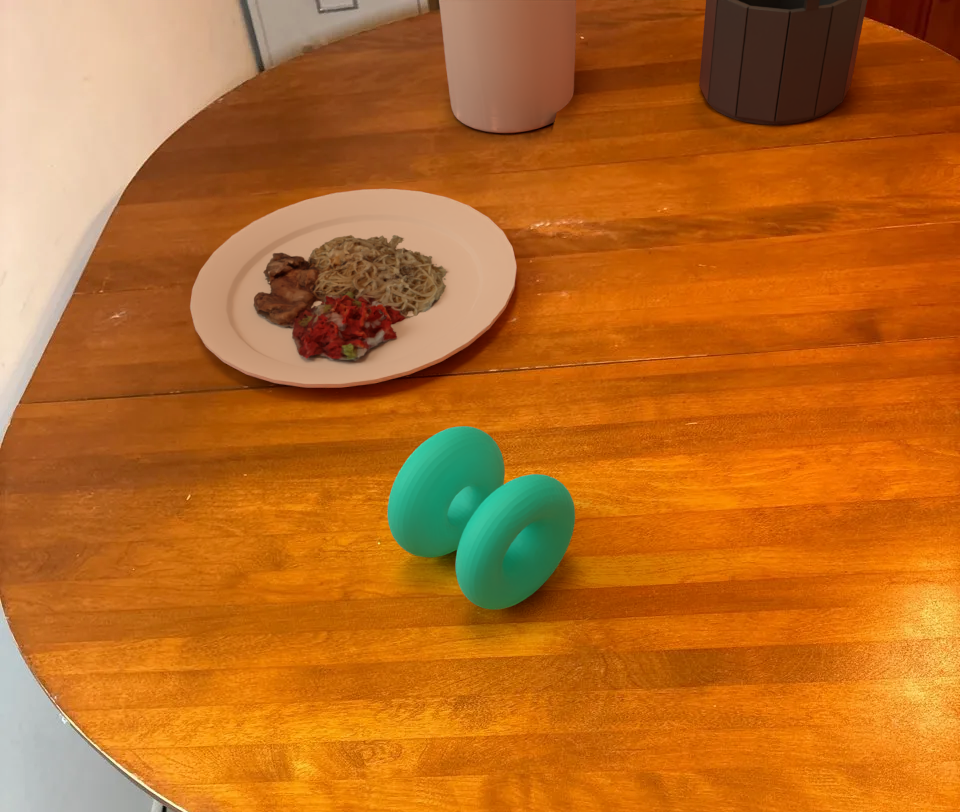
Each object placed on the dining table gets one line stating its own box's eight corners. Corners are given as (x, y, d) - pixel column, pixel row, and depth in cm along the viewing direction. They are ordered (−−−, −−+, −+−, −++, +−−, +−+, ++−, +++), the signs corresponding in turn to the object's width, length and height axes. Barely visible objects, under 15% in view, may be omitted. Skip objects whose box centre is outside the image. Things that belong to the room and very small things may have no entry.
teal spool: (488, 496, 81) (478, 393, 73) (584, 562, 76) (584, 460, 68) (390, 568, 77) (368, 468, 70) (483, 643, 73) (471, 544, 65)
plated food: (446, 176, 110) (443, 145, 107) (572, 335, 92) (572, 302, 90) (165, 259, 104) (154, 228, 102) (242, 444, 87) (231, 413, 84)
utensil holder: (510, 59, 124) (500, -115, 110) (607, 95, 117) (610, -87, 104) (420, 111, 119) (398, -66, 105) (517, 151, 112) (507, -33, 98)
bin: (867, 116, 108) (899, -34, 97) (720, 135, 108) (735, -13, 97) (822, 48, 117) (846, -95, 107) (686, 66, 117) (696, -75, 107)
